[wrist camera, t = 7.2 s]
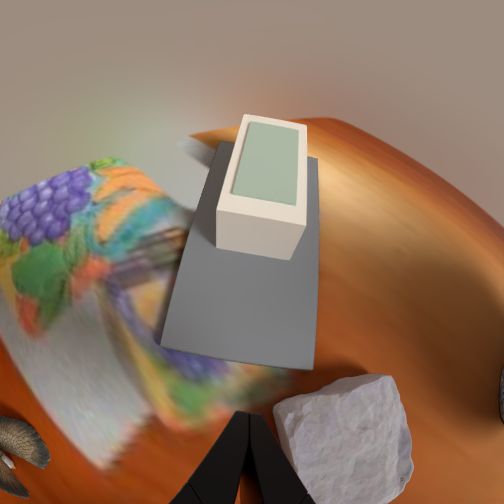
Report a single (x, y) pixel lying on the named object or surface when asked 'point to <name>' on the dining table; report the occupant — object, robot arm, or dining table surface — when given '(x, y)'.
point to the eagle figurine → (19, 453)
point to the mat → (245, 289)
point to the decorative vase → (501, 395)
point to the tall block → (264, 189)
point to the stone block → (348, 440)
